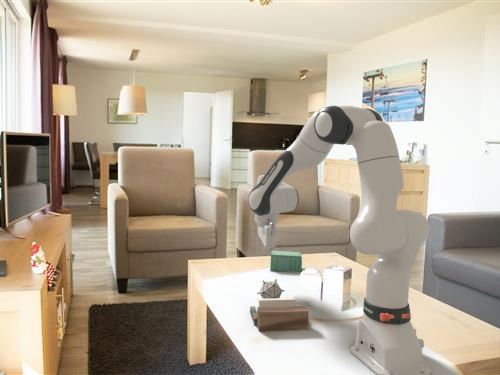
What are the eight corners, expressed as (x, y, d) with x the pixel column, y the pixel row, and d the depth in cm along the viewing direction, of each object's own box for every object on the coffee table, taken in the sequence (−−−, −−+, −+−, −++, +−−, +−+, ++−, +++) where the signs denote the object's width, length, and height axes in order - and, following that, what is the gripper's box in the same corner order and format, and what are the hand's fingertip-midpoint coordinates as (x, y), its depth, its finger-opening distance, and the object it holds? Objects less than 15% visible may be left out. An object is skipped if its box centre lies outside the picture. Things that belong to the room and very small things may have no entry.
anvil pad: (295, 314, 150) (296, 299, 149) (259, 315, 148) (259, 300, 148) (294, 311, 152) (294, 297, 151) (258, 312, 150) (258, 298, 150)
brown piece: (310, 329, 140) (311, 310, 139) (256, 331, 138) (256, 312, 137) (299, 310, 155) (299, 293, 154) (250, 312, 153) (250, 294, 152)
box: (301, 272, 198) (302, 255, 197) (270, 271, 199) (270, 254, 198) (301, 267, 205) (301, 251, 204) (270, 266, 206) (271, 250, 205)
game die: (274, 314, 161) (281, 298, 154) (252, 304, 162) (258, 287, 155) (282, 295, 167) (289, 279, 161) (260, 285, 168) (267, 269, 162)
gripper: (281, 222, 160) (279, 261, 162) (270, 212, 180) (269, 246, 182) (263, 222, 159) (261, 261, 161) (254, 211, 179) (253, 246, 181)
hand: (265, 253), depth 172 cm, fingers closed
